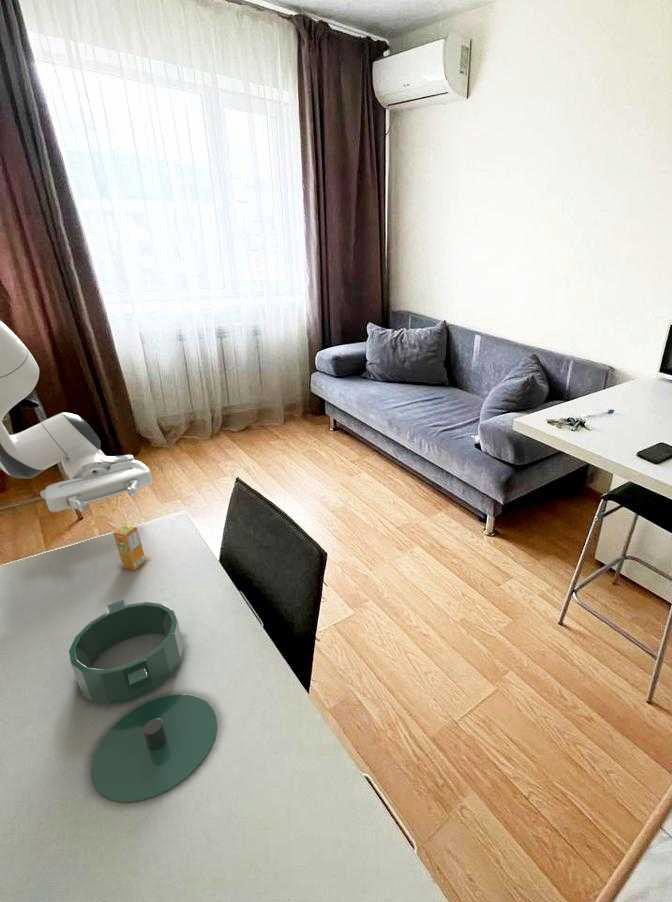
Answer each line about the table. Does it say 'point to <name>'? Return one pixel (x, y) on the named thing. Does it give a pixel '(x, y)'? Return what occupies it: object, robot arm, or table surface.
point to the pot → (138, 674)
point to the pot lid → (154, 748)
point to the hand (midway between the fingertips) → (109, 500)
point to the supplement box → (129, 546)
